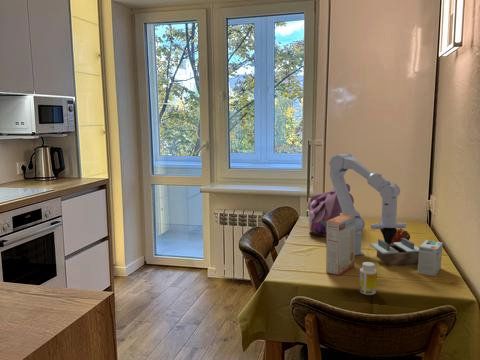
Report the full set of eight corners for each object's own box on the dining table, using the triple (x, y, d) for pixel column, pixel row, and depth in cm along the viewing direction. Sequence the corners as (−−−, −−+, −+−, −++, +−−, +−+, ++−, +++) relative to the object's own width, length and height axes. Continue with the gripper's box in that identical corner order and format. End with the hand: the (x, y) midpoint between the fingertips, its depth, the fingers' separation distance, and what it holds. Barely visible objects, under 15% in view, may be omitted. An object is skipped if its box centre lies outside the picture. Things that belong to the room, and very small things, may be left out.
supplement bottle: (378, 292, 149) (380, 263, 148) (371, 297, 145) (372, 267, 144) (363, 287, 153) (364, 259, 151) (356, 292, 149) (357, 263, 147)
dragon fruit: (412, 249, 201) (385, 251, 204) (409, 235, 207) (383, 236, 210) (411, 238, 195) (383, 239, 199) (409, 223, 201) (382, 225, 205)
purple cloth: (348, 251, 210) (362, 196, 202) (300, 239, 214) (312, 185, 206) (347, 226, 243) (359, 178, 235) (306, 216, 247) (316, 169, 239)
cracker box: (341, 263, 179) (342, 213, 176) (354, 266, 175) (356, 215, 172) (324, 272, 168) (325, 220, 165) (339, 276, 164) (340, 222, 161)
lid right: (407, 252, 175) (407, 245, 174) (392, 243, 186) (393, 237, 186) (422, 251, 176) (423, 244, 175) (407, 243, 187) (407, 236, 187)
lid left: (382, 253, 173) (383, 246, 173) (369, 245, 185) (369, 238, 184) (398, 253, 174) (398, 245, 174) (384, 244, 186) (384, 237, 185)
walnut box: (390, 266, 174) (390, 254, 174) (376, 256, 186) (377, 245, 185) (422, 264, 176) (423, 252, 176) (407, 254, 188) (407, 243, 187)
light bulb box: (423, 265, 175) (424, 239, 174) (441, 268, 172) (443, 242, 170) (417, 273, 167) (418, 246, 165) (435, 276, 163) (437, 249, 161)
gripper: (376, 216, 173) (375, 249, 175) (410, 214, 175) (409, 247, 177) (369, 212, 179) (367, 244, 181) (401, 211, 182) (400, 242, 184)
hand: (387, 245), depth 180 cm, fingers closed
